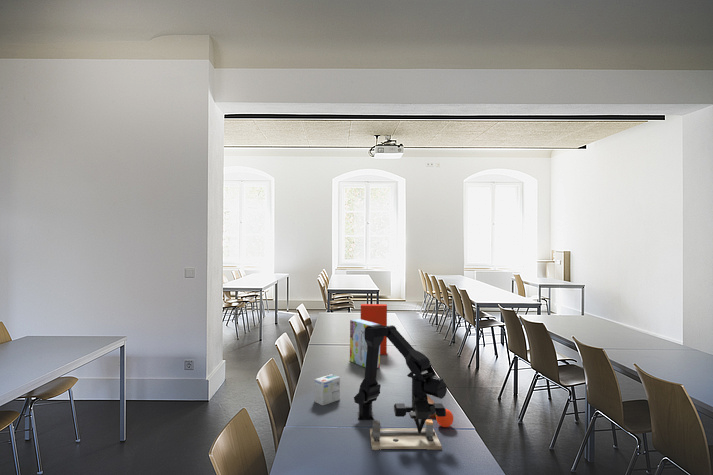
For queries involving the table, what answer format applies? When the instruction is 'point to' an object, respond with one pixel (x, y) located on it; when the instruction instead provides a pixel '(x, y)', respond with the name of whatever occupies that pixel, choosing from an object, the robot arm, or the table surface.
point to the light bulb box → (327, 389)
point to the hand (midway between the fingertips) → (419, 432)
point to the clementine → (445, 419)
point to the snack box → (359, 342)
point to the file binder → (376, 319)
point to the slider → (429, 429)
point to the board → (401, 438)
